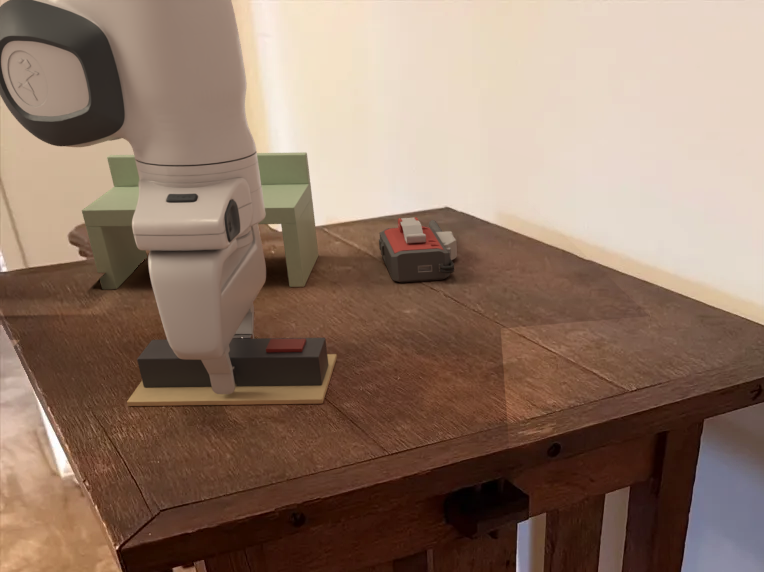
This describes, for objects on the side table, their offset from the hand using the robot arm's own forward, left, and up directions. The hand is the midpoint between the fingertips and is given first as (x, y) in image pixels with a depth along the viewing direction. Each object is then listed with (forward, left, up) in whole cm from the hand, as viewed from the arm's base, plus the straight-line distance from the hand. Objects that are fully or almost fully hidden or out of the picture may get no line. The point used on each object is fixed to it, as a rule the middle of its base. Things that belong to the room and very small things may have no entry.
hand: (236, 372), depth 78 cm
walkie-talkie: (+14, +36, -1) cm, 39 cm away
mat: (0, 0, -1) cm, 1 cm away
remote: (0, 0, 0) cm, 0 cm away
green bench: (-9, +32, -1) cm, 33 cm away
